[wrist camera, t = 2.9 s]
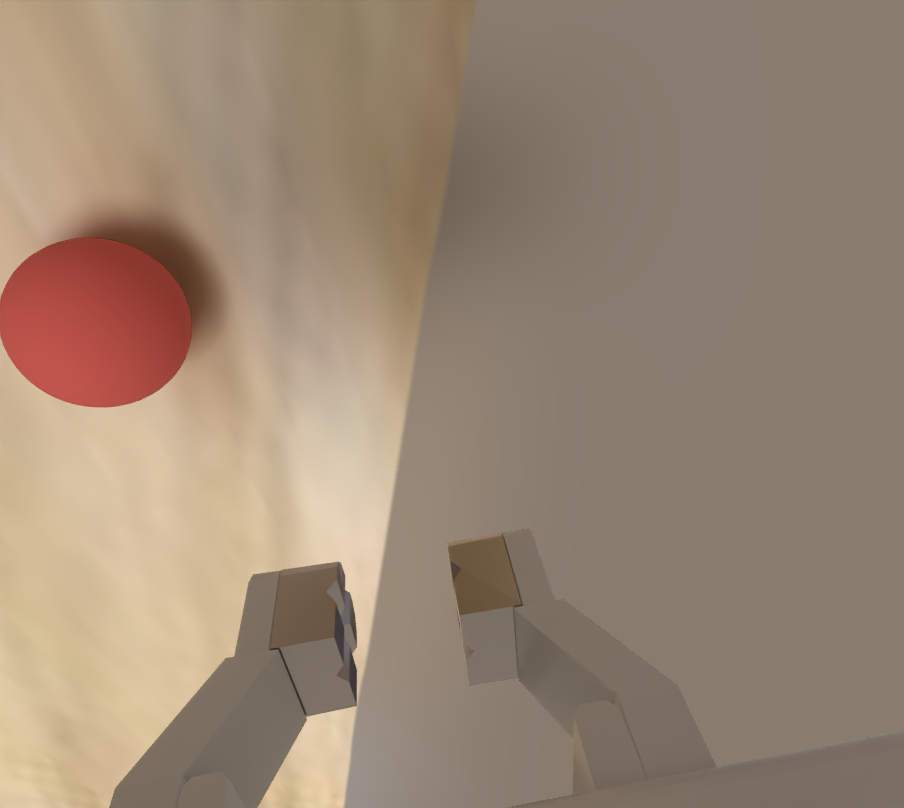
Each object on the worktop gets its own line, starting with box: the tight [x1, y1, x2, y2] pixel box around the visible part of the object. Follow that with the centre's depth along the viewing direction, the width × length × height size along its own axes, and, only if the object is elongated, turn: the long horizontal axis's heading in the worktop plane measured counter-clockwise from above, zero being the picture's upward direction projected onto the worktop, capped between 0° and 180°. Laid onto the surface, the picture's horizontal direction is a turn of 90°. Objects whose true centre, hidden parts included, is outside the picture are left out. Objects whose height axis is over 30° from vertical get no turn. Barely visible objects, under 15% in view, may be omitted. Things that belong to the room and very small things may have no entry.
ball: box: [0, 238, 192, 407], centre depth 22 cm, size 6×6×6 cm
